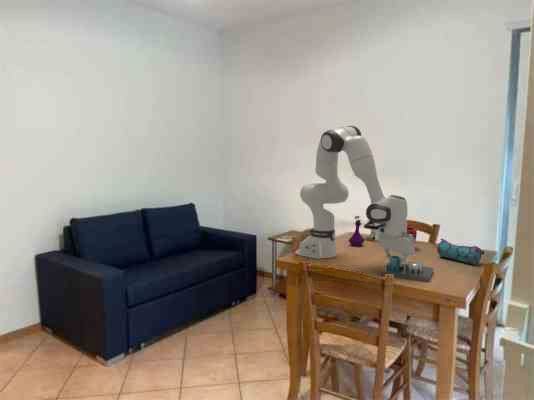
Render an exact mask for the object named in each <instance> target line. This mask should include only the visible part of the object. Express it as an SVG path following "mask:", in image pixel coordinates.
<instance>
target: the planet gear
mask: <svg viewBox="0 0 534 400" xmlns="http://www.w3.org/2000/svg"><path fill="white" fill-rule="evenodd" d="M400 259H402V256H400V255H391V256H390V258H389V262H387V263H386V265H385V266H386V267H387V268H388V269H392V270H394V269H395V270H399V269H400V270H402V269H404V264H405V263H401V262H400V261H401V260H400Z"/></svg>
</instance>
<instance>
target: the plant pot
mask: <svg viewBox="0 0 534 400" xmlns="http://www.w3.org/2000/svg"><path fill="white" fill-rule="evenodd" d="M417 231H418V230H417V228H416V227H410V226H409V227H408V226H407V234H411V235H412V236H413V237H414V243H416V239H417V236H418V235H417V234H418V233H417ZM412 236H411V237H412Z"/></svg>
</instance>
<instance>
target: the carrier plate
mask: <svg viewBox="0 0 534 400" xmlns="http://www.w3.org/2000/svg"><path fill="white" fill-rule="evenodd" d="M403 264H404V269H402V270H400V269H399V270H395V269H394V270H392V269H388V268H387V267H386V265H385V266H384V267H383V268H382V269H381V271H380V275H381V276H385V274H393V275H394V276H395V277H394V278H399V279H406V280H413V281H419V282H425V283H428V282H429V281H430V279H431V278H432V276H433V274H434V267H430V266H429V267H428V266H425V264H424V263H423V262H422V263H421V262H419V261H406V262H405V263H403Z"/></svg>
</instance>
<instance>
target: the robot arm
mask: <svg viewBox="0 0 534 400" xmlns="http://www.w3.org/2000/svg"><path fill="white" fill-rule="evenodd" d="M341 152H344V153H345V154H346V155H347V158H348V162H349V165H350V169H351V170H352V173H353V175H354V176H355V177H357V178H358V179H360V180H361V181H362V183H364V186H365V188H366V191H367V193H368V197H369V198H370V205H368V206H367V208H366V209H365V210H366V211H365V215H366V218H367V219H368V220H369V221H371V222H374V223H386V225H385V227H380V228H379V232H380V233H379V236H378V241H377V243H378V246H379V247H381V248H383V250H384V253H385V258H387V259H390V256H392V254H391V252H390V251H394V252H396V253H401V255H402V256H401V259H400V260H401V261H400V262H401V263H402V264H406V262H407V261H406V260H407V258H408V256H413V255H415V253H416V244H415V243H416V242H415V243H414V237H413V236H412V235H411V234H407V227H408V223H407V218H408V202H407V199H406V198H405V197H403V196H401V195H394V194H391V195H389V196H388V197H385V195H384V194H383V191H382V188H381V185H380V182H379V181H380V180H379V179H378V175H377V168H376V163H375V159H374V155H373V152H372V149H371V147H370V144H369V142H368V141H367V139H366V137H364V136H363V135H362V131H361V130H360V129H359V128H358V127H357V126H355V125H347V126H339V127H336V128H333V129H328V130H327V131H324V132H323V133H322V135H321V137H320V140H319V141H318V146H317V149H316V155H315V156H316V157H315V170H314V171H315V174H316V175H317V176H318V177H320V178H321V179H323V180H325V182H324V183H307V184H304V185H303V186H302V187H301V189H300V191H299V196H300V199H301V201H302V203H304V204H305V205H306V206H307V207H309V209H310V211H311V213H312V219H313V222H312V223H313V227H312V228H311V229H310V230H309V232H308V233H309V234H310V235H308V236H307V237H306V238H304V239H303V240H302V241H301V242H300V243H299V244H300V245H299V249H297V250H295V253H294V254H295V255H296V254H297V256H301V257H307V258H310V259H311V258H312V259H317V260H319V259H330V258H335V257H337V255H338V254H337V251H336V243H335V239H336V229H335V216H334V213H333V212H331V211H330V210H328V209H326V208H325V207H324V205H325V204H326V205H327V204H328V205H331V204H333V205H336V204H341V203H345V202H346V201H347V200H348V198H349V189H348V187H347V186H346V184H345V183H343V182H342V181H341V179H340V178H339V175H338V163H339V162H338V161H339V153H341ZM411 236H412V237H411Z"/></svg>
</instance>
